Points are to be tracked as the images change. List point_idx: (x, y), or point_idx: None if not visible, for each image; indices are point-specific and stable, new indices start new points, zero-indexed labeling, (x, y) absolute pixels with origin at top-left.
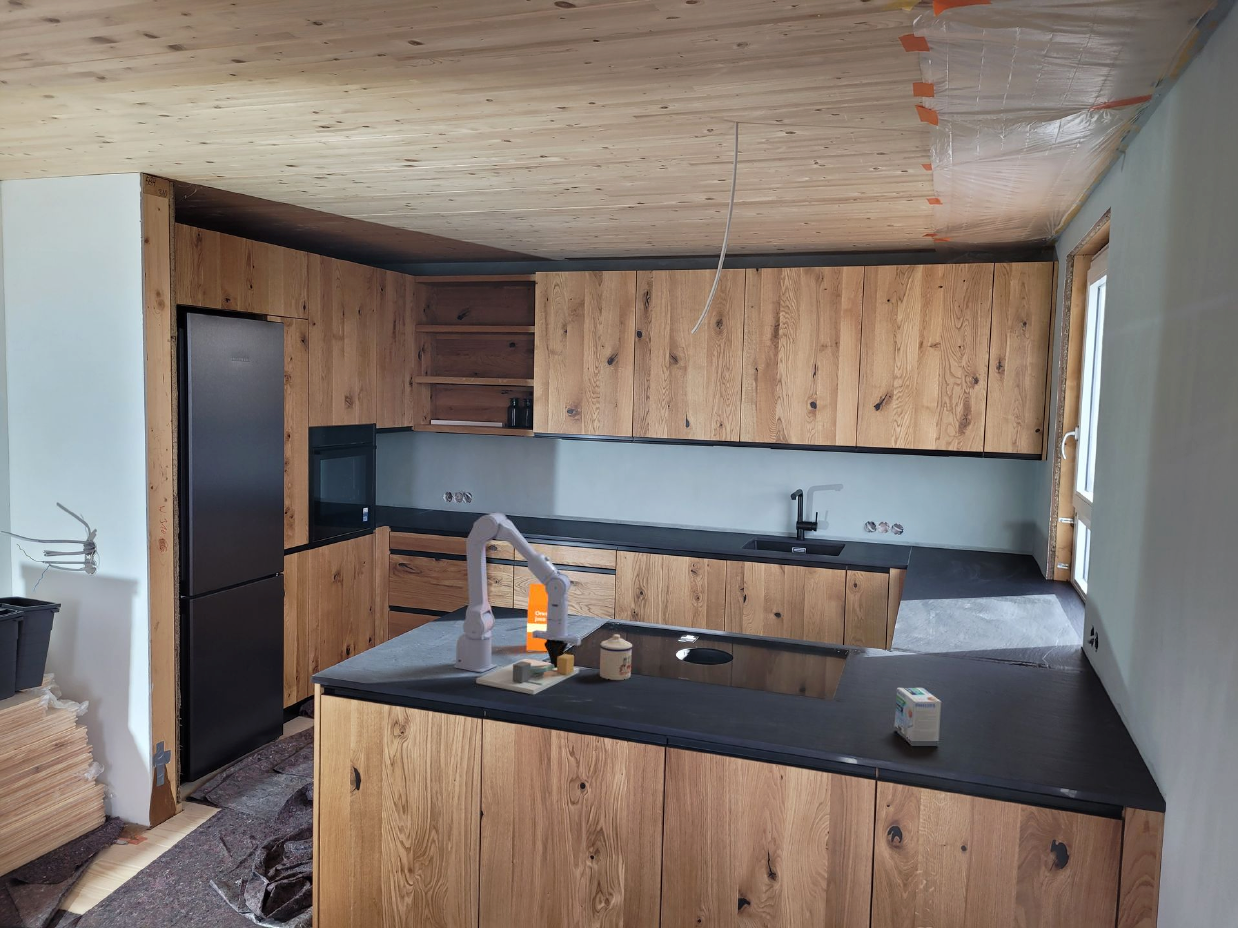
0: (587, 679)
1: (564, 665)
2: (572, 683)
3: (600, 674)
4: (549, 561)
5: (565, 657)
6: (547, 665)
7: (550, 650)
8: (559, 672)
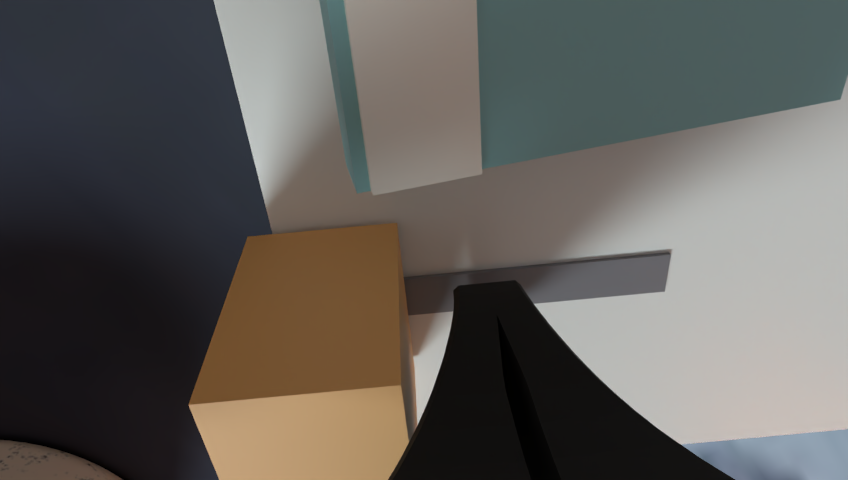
0: (100, 338)
1: (259, 308)
2: (81, 127)
3: (78, 472)
4: None
5: (272, 440)
6: (431, 77)
7: (587, 455)
8: (354, 231)
